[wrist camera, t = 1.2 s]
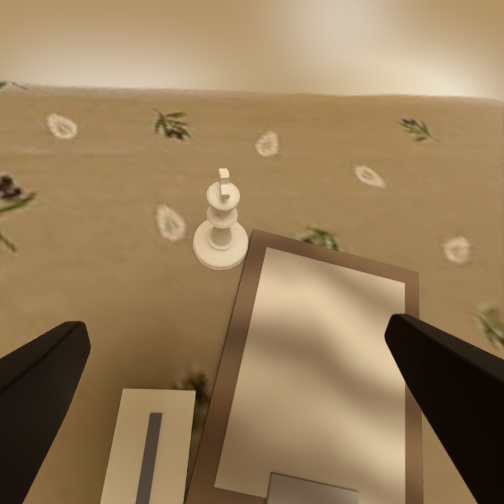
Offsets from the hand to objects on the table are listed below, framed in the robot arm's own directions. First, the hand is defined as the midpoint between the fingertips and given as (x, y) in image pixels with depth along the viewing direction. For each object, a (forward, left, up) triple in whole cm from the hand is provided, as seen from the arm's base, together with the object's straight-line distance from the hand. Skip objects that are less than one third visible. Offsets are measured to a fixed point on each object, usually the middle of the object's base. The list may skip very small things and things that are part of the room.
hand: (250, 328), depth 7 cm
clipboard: (0, -8, -13) cm, 16 cm away
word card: (-8, +3, -13) cm, 16 cm away
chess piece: (+8, +3, -14) cm, 16 cm away
